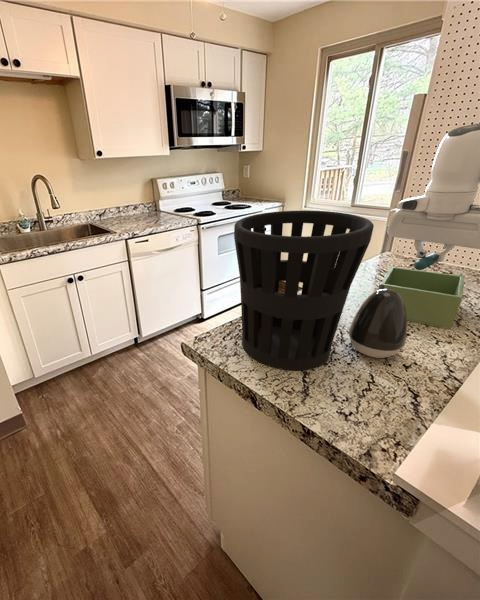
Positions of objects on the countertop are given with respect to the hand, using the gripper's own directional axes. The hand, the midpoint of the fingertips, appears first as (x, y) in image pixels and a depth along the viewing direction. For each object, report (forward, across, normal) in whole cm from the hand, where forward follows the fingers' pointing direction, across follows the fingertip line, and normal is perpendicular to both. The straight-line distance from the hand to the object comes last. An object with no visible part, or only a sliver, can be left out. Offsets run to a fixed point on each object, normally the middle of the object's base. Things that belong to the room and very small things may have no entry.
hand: (428, 259), depth 79 cm
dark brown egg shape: (+15, -3, +28) cm, 31 cm away
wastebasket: (+15, +10, +41) cm, 44 cm away
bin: (+14, 0, 0) cm, 14 cm away
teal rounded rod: (+1, +1, 0) cm, 2 cm away
